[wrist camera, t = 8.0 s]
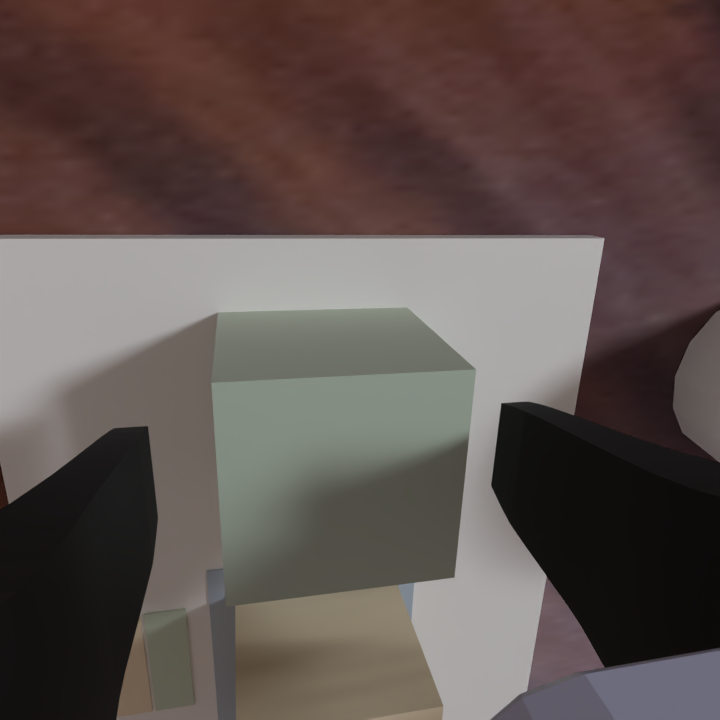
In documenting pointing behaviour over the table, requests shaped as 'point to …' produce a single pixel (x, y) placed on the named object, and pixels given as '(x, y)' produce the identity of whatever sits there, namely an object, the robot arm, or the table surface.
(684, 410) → the white tumbler
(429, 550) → the sage block
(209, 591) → the blueprint baseplate
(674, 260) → the table surface
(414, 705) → the maple block
